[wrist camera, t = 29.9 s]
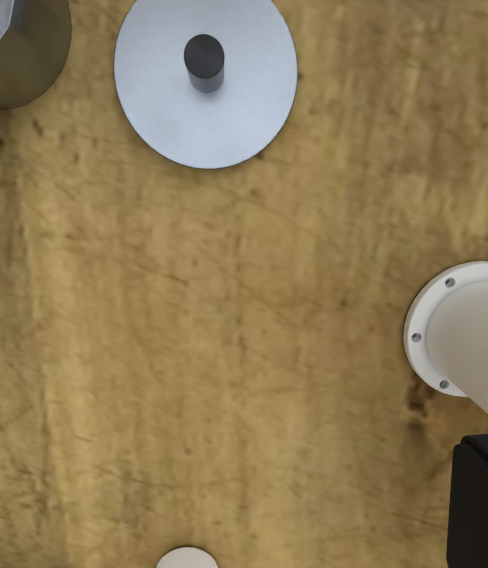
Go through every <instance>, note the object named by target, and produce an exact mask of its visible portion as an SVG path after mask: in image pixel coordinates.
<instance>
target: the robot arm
mask: <svg viewBox="0 0 488 568" xmlns="http://www.w3.org/2000/svg"><path fill="white" fill-rule="evenodd" d="M446 280H447V282H446ZM445 282H446V283H445ZM413 334H414V335H413ZM412 335H413V336H412ZM403 340H404V348H405V352H406V355H407V358H408V361H409V363H410V364H411V366H412V368H413V369H414V371H415V372H416V373H417V374H418V375H419V376H420V377H421V379H422V380H424V381H425V382H426V383H427V384H428V385H430V386H431V387H432V388H434V389H436V390H438V391H440V392H442V393H445V394H449V395H452V396H460V397H469V398H470V399H472V400H473V401H474V402H475V403H476V404H477V405H478V406H480V407H481V408H482V409H483V410H484V411H485V412H486V413H488V261H475V262H467V263H464V264H460V265H456V266H454V267H452V268H450V269H448V270H445V271H443V272H442V273H440V274H439V275H438V276H436V277H435V278H433V279H432V280H431V281H430V282H429V283H428V284H427V285H426V286H425V287H424V288H423V289H422V290H421V291H420V292H419V294H418V295H417V297H416V298H415V299H414V301H413V303H412V305H411V307H410V309H409V311H408V314H407V317H406V321H405V324H404V334H403ZM446 558H447V564H448V567H449V568H488V434H481V435H469V436H464V437H463V438H462V440H461V443H460V444H457V445H455V447H454V449H453V460H452V476H451V491H450V506H449V521H448V537H447V552H446Z"/></svg>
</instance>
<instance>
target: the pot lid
mask: <svg viewBox="0 0 488 568" xmlns="http://www.w3.org/2000/svg"><path fill="white" fill-rule="evenodd" d="M113 67H114V80H115V86H116V91H117V95H118V98H119V101H120V104H121V107H122V109H123V111H124V113H125V115H126V117H127V119H128V121H129V122H130V124H131V126H132V127H133V129H134V130H135V131H136V132H137V134H138V135H139V136H140V138H141V139H143V140H144V141H145V142H146V143H147V144H148V145H149V146H150V147H151V148H152V149H154V150H155V151H156V152H157V153H159V154H160V155H162V156H164V157H165V158H167V159H169V160H171V161H173V162H176V163H178V164H180V165H184V166H188V167H191V168H198V169H220V168H226V167H230V166H234V165H237V164H239V163H242V162H244V161H246V160H248V159H250V158H251V157H253V156H255V155H256V154H258V153H259V152H260V151H261V150H263V149H264V148H265V147H266V146H267V145H268V144H269V143H270V142H271V141H272V140H273V139H274V138H275V137H276V135H277V134H278V133H279V131H280V130H281V129H282V127H283V125H284V123H285V122H286V120H287V118H288V116H289V113H290V111H291V108H292V105H293V102H294V98H295V95H296V88H297V79H298V66H297V55H296V51H295V46H294V42H293V39H292V36H291V33H290V30H289V28H288V26H287V24H286V22H285V20H284V18H283V17H282V15H281V13H280V12H279V10H278V9H277V7H276V6H275V5H274V4H273V3H272V1H271V0H136V2H135V3H134V4H133V5H132V7H131V9H130V10H129V12H128V13H127V15H126V17H125V19H124V21H123V23H122V25H121V27H120V31H119V34H118V37H117V40H116V46H115V51H114V65H113Z"/></svg>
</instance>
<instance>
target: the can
mask: <svg viewBox="0 0 488 568" xmlns="http://www.w3.org/2000/svg"><path fill="white" fill-rule="evenodd" d="M156 568H218V567H217V564H216V562H215V560H214V559H213V558H212V557H211V556H210V555H209V554H208V553H207V552H205V551H204V550H202V549H199V548H196V547H180V548H177V549H174V550H172V551H170V552H169V553H167V554H166V555H164V556H163V557H162V558H161V559H160V561H159V562H158V564H157V566H156Z"/></svg>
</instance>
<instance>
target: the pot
mask: <svg viewBox="0 0 488 568" xmlns="http://www.w3.org/2000/svg"><path fill="white" fill-rule="evenodd" d="M70 39H71V17H70V10H69V5H68V0H0V110H4V109H11V108H15V107H18V106H22V105H24V104H26V103H28V102H31V101H32V100H34V99H35V98H37V97H39V96H40V95H41V94H42V93H44V92H45V91H46V90H47V89H48V88H49V87H50V86H51V84H52V83H53V82H54V81H55V80H56V78H57V76H58V75H59V73H60V72H61V70H62V67H63V65H64V63H65V61H66V58H67V54H68V51H69V46H70Z"/></svg>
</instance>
